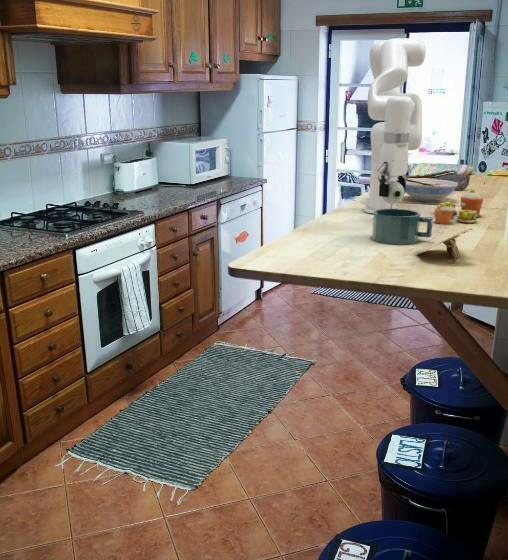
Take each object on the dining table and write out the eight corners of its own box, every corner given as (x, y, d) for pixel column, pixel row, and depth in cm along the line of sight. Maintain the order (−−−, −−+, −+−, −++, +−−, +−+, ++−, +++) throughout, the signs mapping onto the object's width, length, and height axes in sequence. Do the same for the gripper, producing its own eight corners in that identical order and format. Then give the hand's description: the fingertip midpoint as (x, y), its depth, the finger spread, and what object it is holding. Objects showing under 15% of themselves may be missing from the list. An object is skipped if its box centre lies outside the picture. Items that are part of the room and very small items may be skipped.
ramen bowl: (470, 204, 249) (472, 183, 247) (421, 207, 241) (423, 185, 239) (431, 194, 271) (432, 175, 269) (385, 197, 263) (386, 177, 261)
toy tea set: (437, 211, 233) (439, 184, 231) (482, 214, 228) (485, 187, 225) (428, 223, 210) (430, 194, 207) (477, 227, 205) (480, 197, 202)
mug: (370, 242, 182) (372, 215, 180) (373, 233, 194) (375, 207, 192) (431, 246, 178) (433, 218, 176) (430, 237, 190) (432, 210, 188)
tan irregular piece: (415, 274, 174) (407, 247, 175) (466, 261, 174) (458, 234, 175) (431, 267, 156) (423, 237, 157) (488, 253, 156) (480, 223, 157)
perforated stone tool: (433, 189, 287) (434, 173, 285) (434, 187, 291) (435, 172, 289) (468, 191, 282) (470, 175, 280) (468, 190, 286) (470, 174, 284)
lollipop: (384, 231, 198) (388, 182, 194) (374, 226, 204) (377, 179, 200) (405, 230, 200) (409, 182, 195) (394, 225, 206) (398, 179, 202)
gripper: (400, 137, 203) (396, 190, 208) (369, 139, 191) (366, 196, 196) (421, 138, 198) (417, 193, 203) (391, 141, 186) (387, 199, 191)
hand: (392, 194), depth 199 cm, fingers open, 9 cm apart
